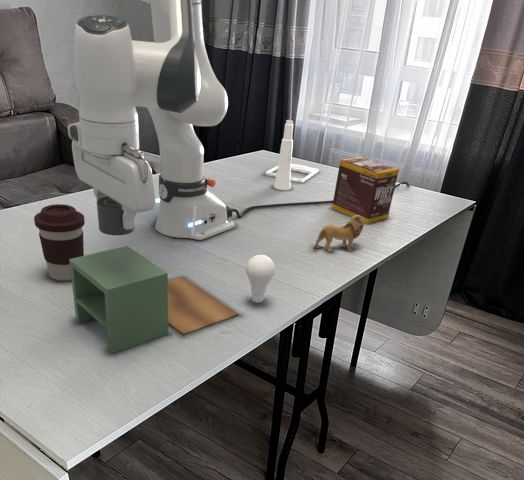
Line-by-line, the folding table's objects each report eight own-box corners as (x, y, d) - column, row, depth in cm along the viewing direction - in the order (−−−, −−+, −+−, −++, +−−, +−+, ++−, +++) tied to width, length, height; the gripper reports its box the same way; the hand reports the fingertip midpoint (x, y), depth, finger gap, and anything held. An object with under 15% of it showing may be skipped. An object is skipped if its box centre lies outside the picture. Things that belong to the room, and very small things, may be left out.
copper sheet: (182, 278, 124) (182, 276, 124) (238, 315, 113) (238, 313, 112) (129, 293, 116) (129, 292, 116) (182, 335, 104) (182, 333, 104)
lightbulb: (242, 295, 120) (246, 249, 114) (269, 296, 121) (274, 250, 115) (244, 308, 115) (247, 261, 109) (272, 310, 116) (277, 263, 110)
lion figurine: (353, 242, 152) (359, 211, 147) (363, 250, 148) (370, 218, 143) (308, 247, 146) (312, 215, 141) (318, 255, 142) (323, 222, 137)
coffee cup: (64, 289, 115) (55, 221, 107) (32, 275, 119) (22, 209, 111) (99, 274, 122) (93, 209, 114) (68, 261, 126) (60, 198, 118)
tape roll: (123, 219, 97) (121, 193, 95) (141, 231, 94) (140, 204, 91) (92, 226, 94) (90, 199, 91) (110, 238, 90) (107, 210, 88)
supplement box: (368, 224, 165) (378, 172, 157) (331, 208, 174) (339, 159, 166) (388, 218, 171) (400, 168, 163) (352, 203, 180) (361, 155, 172)
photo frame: (318, 168, 208) (302, 179, 194) (318, 171, 209) (302, 182, 195) (283, 161, 212) (265, 171, 198) (283, 164, 213) (265, 174, 199)
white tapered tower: (274, 184, 191) (281, 117, 178) (291, 186, 190) (299, 120, 178) (272, 189, 186) (279, 121, 173) (289, 191, 185) (298, 123, 173)
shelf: (130, 303, 113) (127, 245, 105) (168, 333, 104) (167, 273, 97) (76, 320, 105) (69, 259, 98) (112, 353, 97) (107, 289, 90)
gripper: (164, 151, 81) (165, 237, 89) (97, 121, 93) (104, 199, 101) (126, 156, 77) (131, 245, 85) (62, 124, 89) (72, 205, 97)
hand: (116, 220), depth 93 cm, fingers closed on tape roll, 6 cm apart
